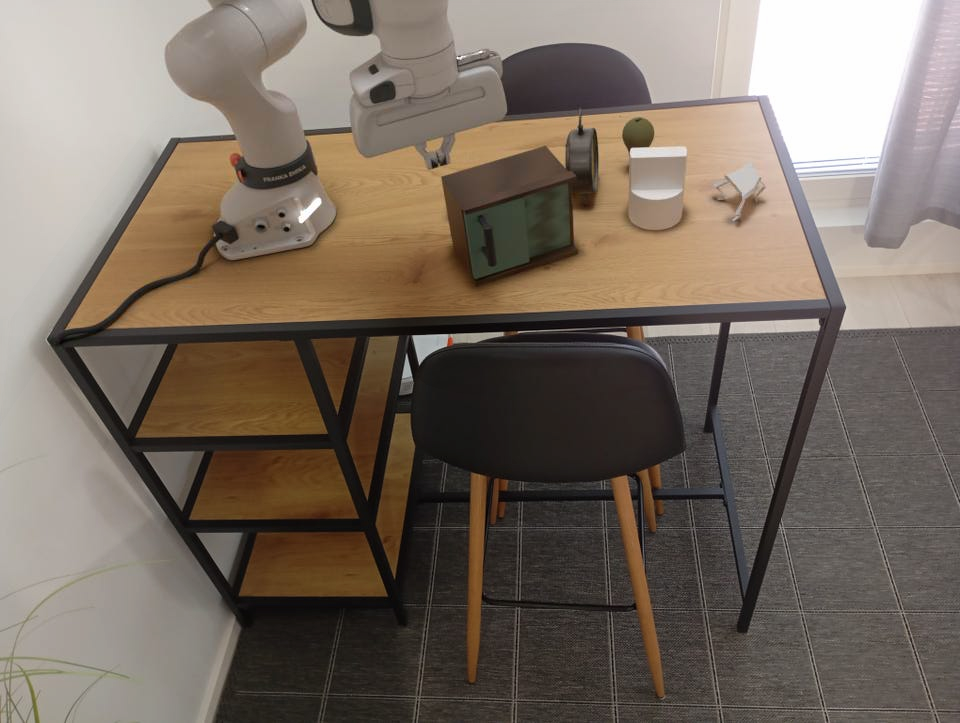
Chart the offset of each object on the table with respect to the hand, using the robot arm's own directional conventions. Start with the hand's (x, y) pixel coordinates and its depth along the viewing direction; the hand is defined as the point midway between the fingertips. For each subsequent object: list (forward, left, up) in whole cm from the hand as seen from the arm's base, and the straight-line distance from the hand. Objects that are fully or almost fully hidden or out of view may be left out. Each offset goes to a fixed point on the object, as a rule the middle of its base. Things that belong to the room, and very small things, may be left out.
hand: (437, 165), depth 106 cm
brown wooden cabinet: (+12, +10, -25) cm, 30 cm away
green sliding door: (+8, +2, -24) cm, 25 cm away
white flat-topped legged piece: (+51, +2, -25) cm, 57 cm away
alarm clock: (+29, +19, -25) cm, 43 cm away
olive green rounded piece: (+41, +21, -25) cm, 53 cm away
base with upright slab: (+37, +7, -25) cm, 46 cm away
